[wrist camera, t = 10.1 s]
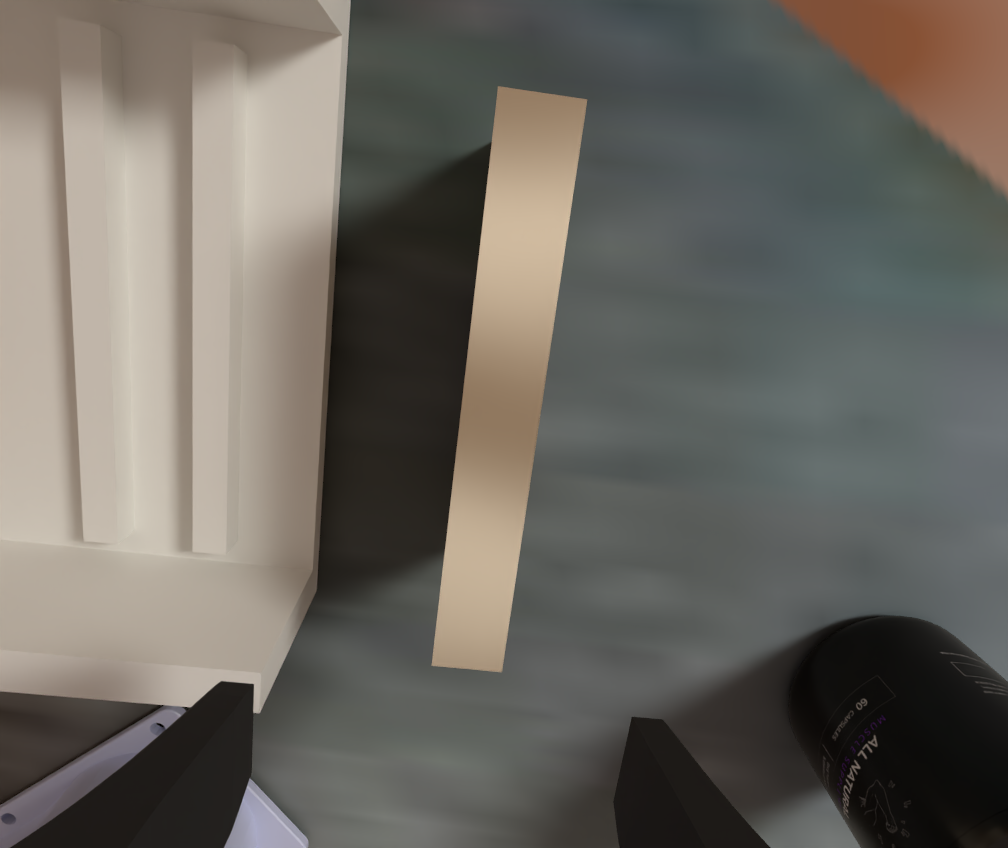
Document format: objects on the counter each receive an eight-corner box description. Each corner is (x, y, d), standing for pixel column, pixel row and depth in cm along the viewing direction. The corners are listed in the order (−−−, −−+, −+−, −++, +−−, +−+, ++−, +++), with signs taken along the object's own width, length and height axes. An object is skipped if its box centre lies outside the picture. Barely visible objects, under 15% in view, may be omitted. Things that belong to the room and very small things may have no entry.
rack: (316, 590, 23) (259, 713, 17) (-116, 548, 22) (-333, 663, 16) (351, -7, 18) (287, -124, 12) (-206, -94, 17) (-568, -265, 11)
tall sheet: (495, 529, 22) (501, 672, 15) (448, 524, 22) (431, 665, 15) (547, 149, 19) (587, 99, 12) (492, 142, 19) (498, 86, 12)
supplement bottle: (754, 656, 24) (1008, 1052, 12) (936, 578, 23) (1383, 919, 12) (815, 791, 26) (1086, 1246, 14) (985, 722, 25) (1415, 1142, 13)
